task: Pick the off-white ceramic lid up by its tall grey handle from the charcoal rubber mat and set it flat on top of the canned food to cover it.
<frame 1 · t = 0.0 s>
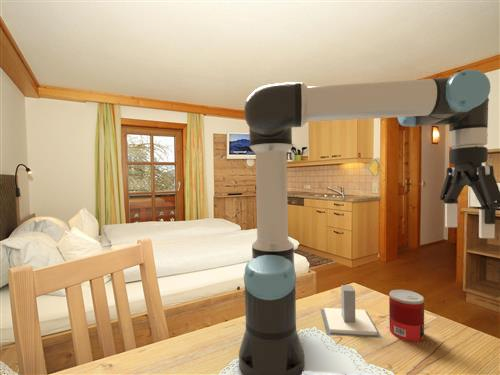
hand: (467, 232, 69), 28 cm above the table, tool pointing down, fingers open, 13 cm apart
canned food: (406, 336, 73), on the table
mat: (348, 324, 78), on the table
lid: (348, 322, 78), point 1 cm above the table, touching mat
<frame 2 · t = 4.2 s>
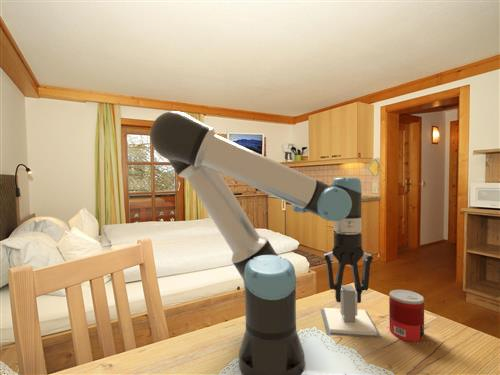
hand: (348, 312, 78), 4 cm above the table, tool pointing down, fingers closed on lid, 3 cm apart
lid: (348, 322, 78), point 1 cm above the table, touching gripper, mat
everything else where it was.
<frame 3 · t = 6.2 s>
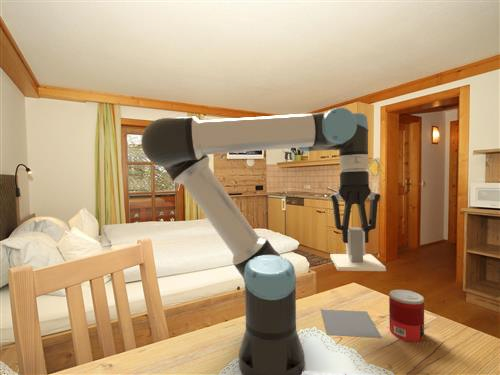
hand: (355, 253, 77), 21 cm above the table, tool pointing down, fingers closed on lid, 3 cm apart
lid: (355, 263, 77), point 18 cm above the table, touching gripper
everything else where it was.
when the fingers open (15 cm above the table, at t = 8.5 s): lid drops 1 cm, resting on canned food.
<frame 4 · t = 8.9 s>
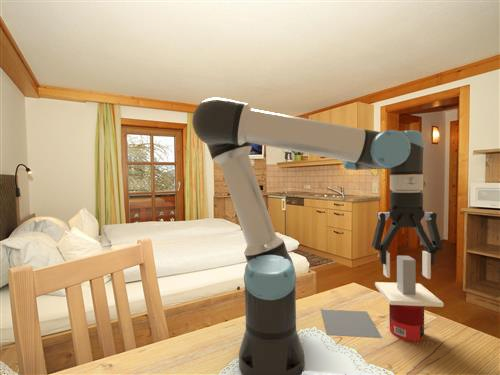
hand: (406, 276, 72), 16 cm above the table, tool pointing down, fingers open, 9 cm apart
canned food: (406, 336, 73), on the table, touching lid
lid: (406, 295, 72), point 11 cm above the table, touching canned food
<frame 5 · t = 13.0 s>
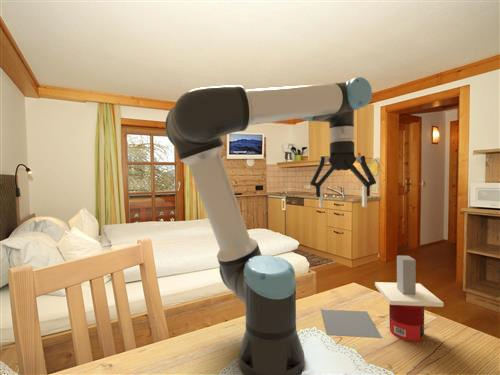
hand: (342, 207, 89), 33 cm above the table, tool pointing down, fingers open, 13 cm apart
nothing on the table moved.
at the end: lid 0.1 cm off-centre on the canned food, point 11.2 cm above the canned food's base; lid tilted 0°; canned food tilted 0° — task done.
